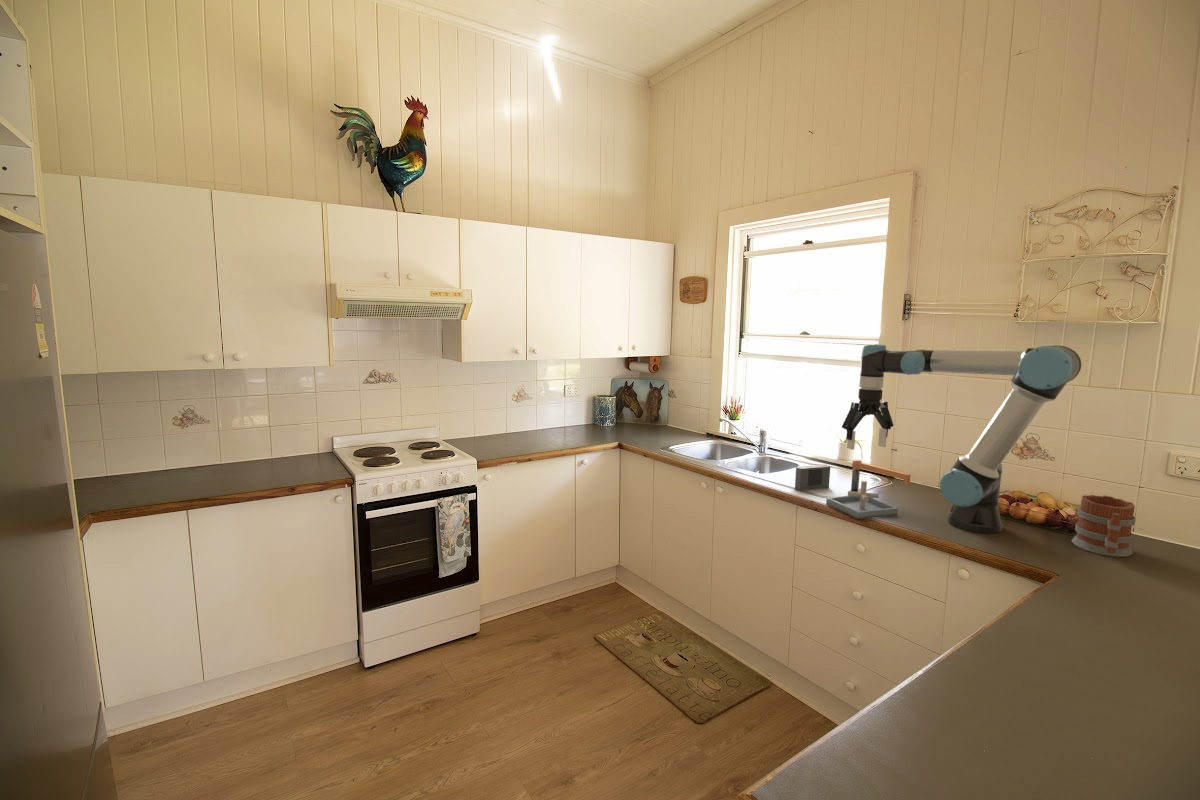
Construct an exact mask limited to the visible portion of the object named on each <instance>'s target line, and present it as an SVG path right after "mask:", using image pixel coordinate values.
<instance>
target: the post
mask: <svg viewBox="0 0 1200 800" xmlns="http://www.w3.org/2000/svg"><path fill="white" fill-rule="evenodd" d="M860 471H861V469H854V468H852V472H851V473H852V474H851V475H852V476H851V485H850V491H852V492H858V489H860V488H859V484H860V473H861V472H860Z"/></svg>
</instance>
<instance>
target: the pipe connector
mask: <svg viewBox="0 0 1200 800" xmlns="http://www.w3.org/2000/svg"><path fill="white" fill-rule="evenodd" d="M860 483H861V484H860V488H858V492H852V491H851V490H849V491H847V496H853V497H860V505H859V508H860V509H865V502H868V501H869V498H874V499H879V498H880V497H879V496H880V494H879V493H877V492H867V484H868V481H867V480H861V482H860Z"/></svg>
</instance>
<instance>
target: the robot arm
mask: <svg viewBox="0 0 1200 800" xmlns="http://www.w3.org/2000/svg"><path fill="white" fill-rule="evenodd" d="M861 348H862V349H861V354H860V355H861V356H860V373H859V385H858V386H859V387H860V388H859V389H858V399H859V401H858V402H853V401H852V402H851V404H850V409H849V411H848V413H847V415H846V417H845V419H844V421H843V423H842V425H841V428H842V429H844V430H845V431H846V440H847V442H846V449H849V450H852V451H853V450H855V446H856V445H855V443H856V430H855V429H856V428H857V426H858V425H859V424H860V422H861V421H862V420H863V419H864V417H866V416H870V415H871V416H872V415H873V416H874V417H875V419H876V420H877V422H878V424H879V425H880V427H879V431H878V441H877V442H878V443H877V445H878V447H882V448H886V444H887V438H888V436H889V435H888V433H889V430H891V428H892V427H894V423H893V419H892V416H891V413H890V410H889V402H888V401H884V400H882V399H883V388H884V377H885V373H889V374H890V373H891V374H903V375H908V376H910V375H920V374H921V373H947V374H948V373H949V374H965V375H966V374H968V375H969V374H970V375H971V374H972V375H975V374H976V375H992V376H995V375H996V376H1012V378H1011V379H1010V384H1011V387H1012V389H1011V390H1010V391H1009V393H1008V394H1007V396H1006V398H1005V399H1004V401H1002V403H1001V404H1000V406H999V407H998V409H997V411H996V412H995V414H994V415H993V416H992V418H991V420H990V421H989V423H987V425H986V427H985V428H984V430H983V431H982V433H980V435H979V437H977V438H978V439H977V440H976V441H975V443H974V445H973V446H972V447H971V449H970V450H969V452H968V453H966V454H961V455H959V457H958V458H957V459H956V461H955V462H954V464H953V466H952V467H951V468H950V470H949V471H947V472H945V473H944V474H943V475H942V477H941V479H940V481H939V490H940V492H941V495H942V496H943V498H945V499H946V501H948V502H949V503H951V504H953V505H952V507H951V508H950V511H949V513H948V517H947V522H948V523H949V524H950V525H952V526H953V527H956V528H959V529H962V530H964V531H969V532H973V533H978V534H979V533H981V534H997V533H1000V532H1002V529H1003V528H1002V527H1003V522H1002V519H1001V515H1000V510H999V497H1000V488H1001V482H1002V473H1003V465H1002V463H1003V461H1004V460H1005V458H1006V457H1007V456H1008V455H1009V453H1010V452H1011V450H1012V449H1013V447H1014V446H1015V444H1016V443H1017V442H1018V440H1019V439H1020V438H1021V436H1022V435H1023V434H1024V433H1025V431H1026V429H1027V428H1028V426H1029V425H1030V424H1031V422H1032V421H1033V420H1034V418H1035V417H1036V415H1037V414H1038V413H1039V411H1040V410H1041V408H1043V406H1044V404H1045V403H1047V402H1052V401H1055V400H1056V399H1057V397H1058V396H1059V394H1060V393H1061V392H1062V391H1063V389H1064V388H1065V386H1066V385H1067V384H1068V383H1070V382H1071V381H1073V380H1075V378H1077V376H1078V375H1079V374H1080V372H1081V370H1082V365H1083V364H1082V359H1081V357H1080V355H1079V354H1078V353H1077V352H1076V351H1075V350H1074V349H1073V348H1070V347H1068V346H1065V345H1042V346H1037V347H1028V348H1026V349H1024V350H1023V351H1017V350H1014V351H1012V350H938V349H937V350H927V349H916V350H905V351H904V350H902V351H901V350H887V346H886V345H885V344H876V343H866V344H864V345H863V346H862V347H861Z"/></svg>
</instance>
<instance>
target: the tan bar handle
mask: <svg viewBox="0 0 1200 800" xmlns="http://www.w3.org/2000/svg"><path fill="white" fill-rule="evenodd" d="M851 462H852V463H851V468H852V469H853V468H854V469H860V470H865V471H870V472H873V473H876V474H881V475H885V476H887V477H888V476H889V477H893V478H896V479H899V480H903V485H906V486H907V485H911V484H910V483H911V477H912V476H911V474H910V473H908V472H907V473H906V472H903V471H898V470H895V469H891V468H890V469H889V468H886V467H882V466H879V465H874V464H870V463H866V462H862V460H860V459H852V461H851Z"/></svg>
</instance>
